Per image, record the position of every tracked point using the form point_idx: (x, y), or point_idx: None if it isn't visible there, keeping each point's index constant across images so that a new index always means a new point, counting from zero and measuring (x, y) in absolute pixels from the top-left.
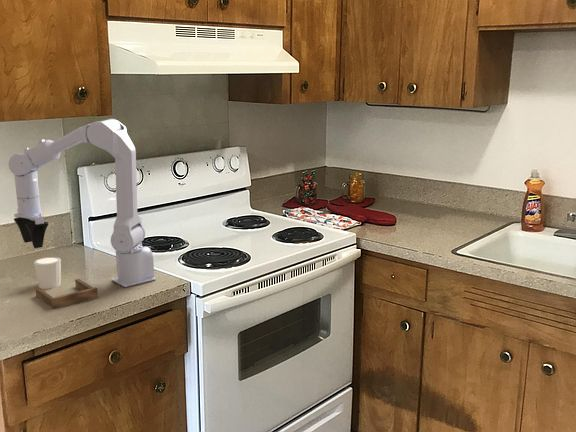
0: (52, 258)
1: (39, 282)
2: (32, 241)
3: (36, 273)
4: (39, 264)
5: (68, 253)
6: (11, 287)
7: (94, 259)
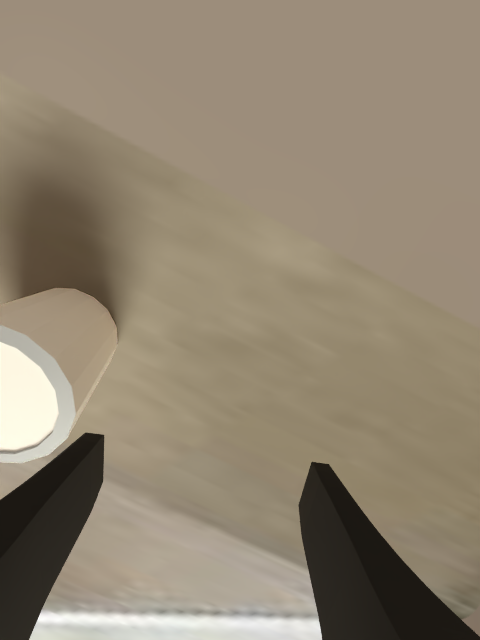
0: (21, 437)
1: (42, 293)
2: (54, 470)
3: (29, 304)
4: None
5: None
6: (168, 202)
7: (243, 568)
